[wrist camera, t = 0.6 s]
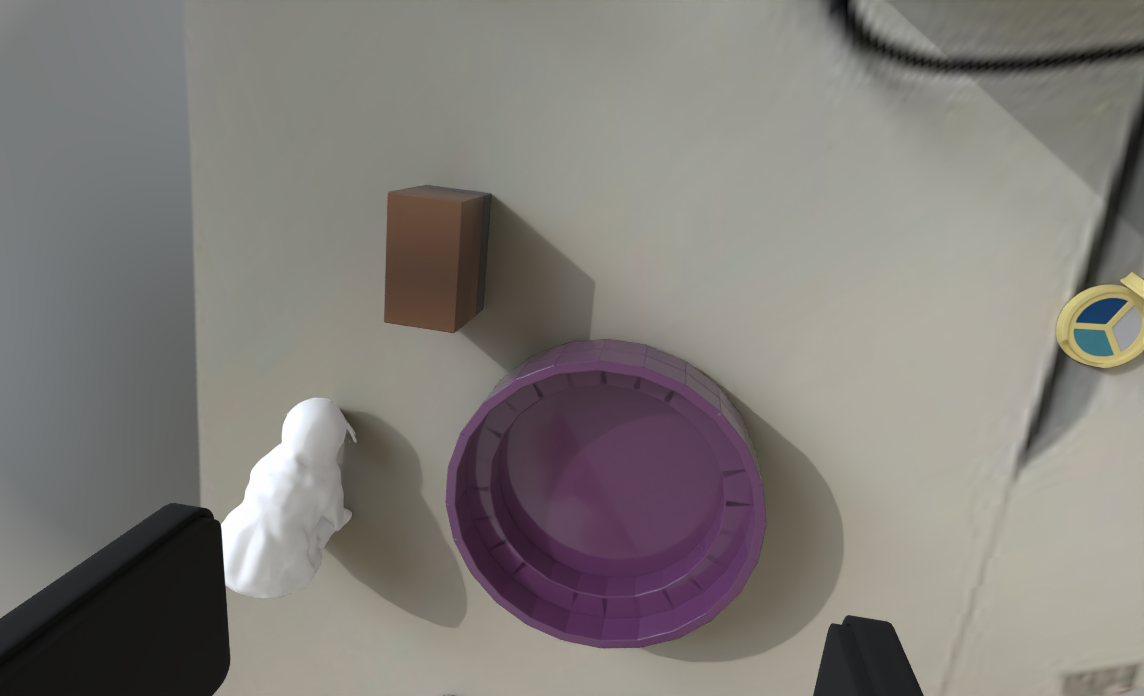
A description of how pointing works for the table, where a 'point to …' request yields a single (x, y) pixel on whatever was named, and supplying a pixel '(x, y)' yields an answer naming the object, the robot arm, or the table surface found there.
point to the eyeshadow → (1104, 324)
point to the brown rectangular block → (435, 256)
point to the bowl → (608, 495)
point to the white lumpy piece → (289, 506)
